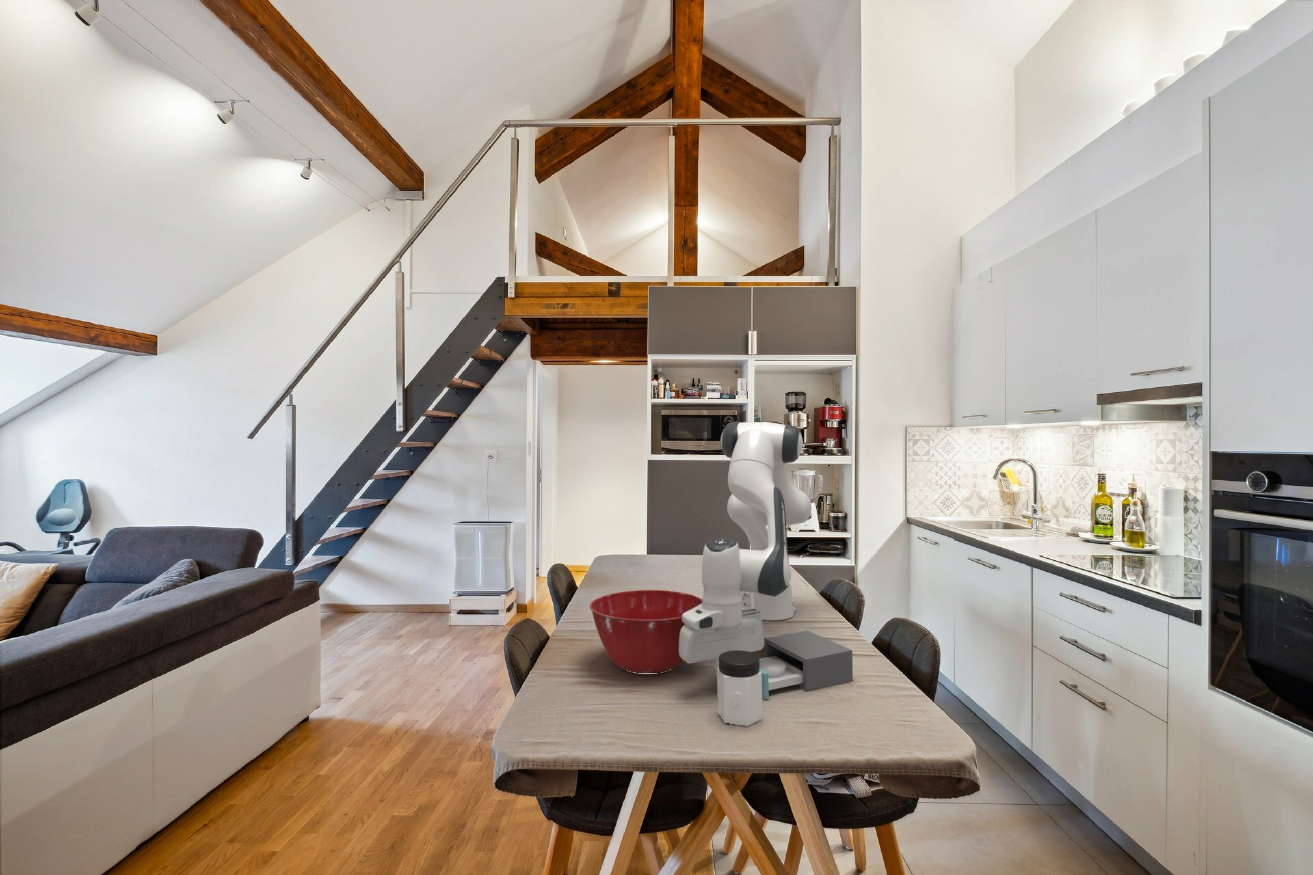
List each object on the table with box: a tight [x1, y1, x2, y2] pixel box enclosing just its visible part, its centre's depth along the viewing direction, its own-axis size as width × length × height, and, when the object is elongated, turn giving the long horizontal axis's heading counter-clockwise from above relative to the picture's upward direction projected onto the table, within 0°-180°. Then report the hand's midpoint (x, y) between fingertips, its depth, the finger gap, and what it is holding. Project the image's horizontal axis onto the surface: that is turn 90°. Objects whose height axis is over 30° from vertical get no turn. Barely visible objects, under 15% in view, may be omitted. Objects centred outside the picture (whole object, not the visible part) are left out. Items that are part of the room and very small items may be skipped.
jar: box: [716, 650, 763, 727], centre depth 125 cm, size 9×8×12 cm
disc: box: [759, 659, 786, 678], centre depth 143 cm, size 7×7×2 cm
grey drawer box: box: [764, 630, 854, 692], centre depth 147 cm, size 16×13×7 cm
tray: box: [759, 656, 803, 700], centre depth 142 cm, size 16×13×5 cm
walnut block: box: [752, 647, 765, 659], centre depth 157 cm, size 5×5×5 cm
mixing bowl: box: [589, 589, 702, 673], centre depth 154 cm, size 28×28×16 cm
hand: (723, 675), depth 138 cm, fingers closed
